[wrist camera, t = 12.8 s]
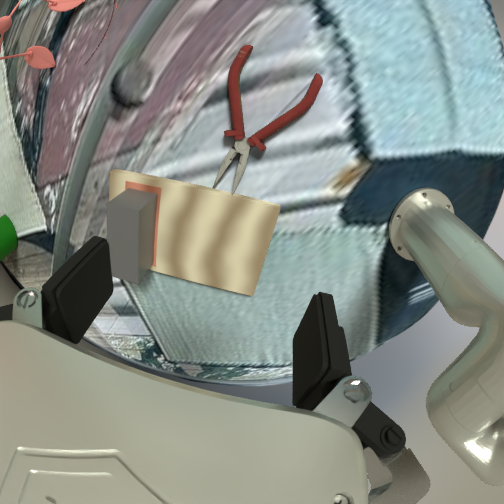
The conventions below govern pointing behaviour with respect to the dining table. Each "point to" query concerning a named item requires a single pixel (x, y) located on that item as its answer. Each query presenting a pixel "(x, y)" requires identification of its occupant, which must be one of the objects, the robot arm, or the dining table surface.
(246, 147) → the pliers
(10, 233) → the green cylindrical container
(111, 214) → the block
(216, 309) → the dining table surface
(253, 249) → the board
